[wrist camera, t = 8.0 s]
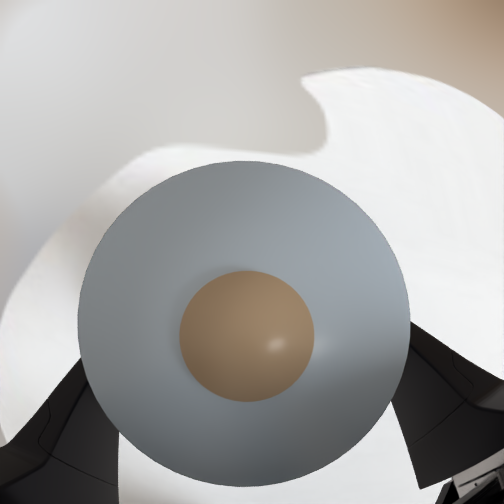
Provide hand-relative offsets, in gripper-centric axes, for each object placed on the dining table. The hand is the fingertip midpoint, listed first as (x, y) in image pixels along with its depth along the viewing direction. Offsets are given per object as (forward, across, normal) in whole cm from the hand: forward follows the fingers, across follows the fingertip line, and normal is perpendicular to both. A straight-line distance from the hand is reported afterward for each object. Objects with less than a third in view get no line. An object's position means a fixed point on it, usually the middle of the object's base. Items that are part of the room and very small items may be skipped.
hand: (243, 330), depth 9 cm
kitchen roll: (+7, 0, +6) cm, 9 cm away
